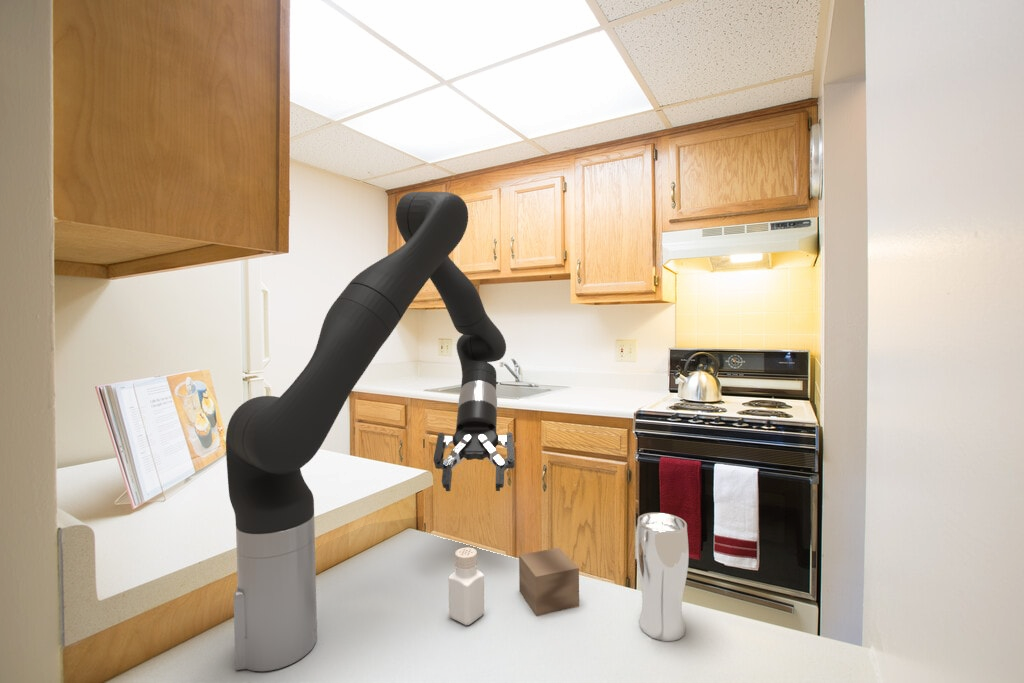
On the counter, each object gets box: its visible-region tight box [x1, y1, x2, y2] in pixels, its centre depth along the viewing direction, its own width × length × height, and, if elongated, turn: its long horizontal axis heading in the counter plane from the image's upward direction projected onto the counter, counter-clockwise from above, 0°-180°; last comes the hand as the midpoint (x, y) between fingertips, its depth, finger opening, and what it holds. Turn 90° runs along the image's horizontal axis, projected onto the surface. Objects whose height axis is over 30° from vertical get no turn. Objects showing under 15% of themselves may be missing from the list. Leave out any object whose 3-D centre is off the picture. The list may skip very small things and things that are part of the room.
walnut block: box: [518, 547, 580, 617], centre depth 74 cm, size 7×7×6 cm
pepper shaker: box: [448, 546, 485, 626], centre depth 69 cm, size 4×4×10 cm
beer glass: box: [635, 512, 690, 642], centre depth 66 cm, size 7×7×15 cm
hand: (472, 489), depth 80 cm, fingers open, 8 cm apart
